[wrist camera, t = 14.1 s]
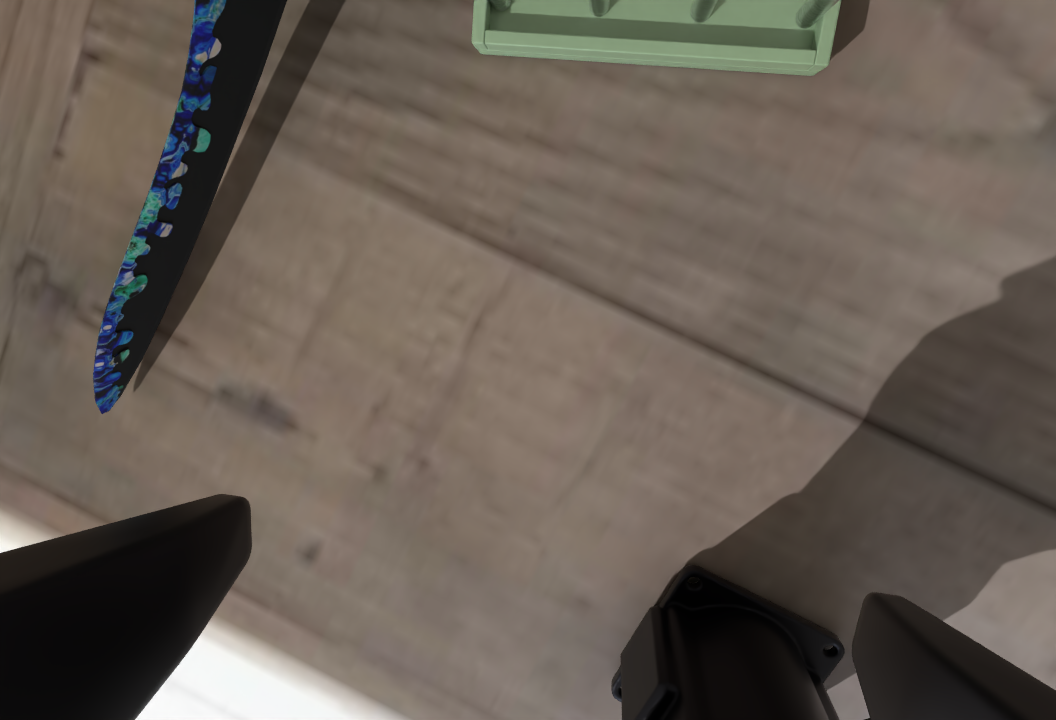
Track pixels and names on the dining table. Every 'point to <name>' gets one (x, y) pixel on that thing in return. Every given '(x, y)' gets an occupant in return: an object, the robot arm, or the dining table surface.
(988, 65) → the dining table surface
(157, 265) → the knife
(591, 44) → the dish rack
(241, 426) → the dining table surface
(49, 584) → the robot arm
